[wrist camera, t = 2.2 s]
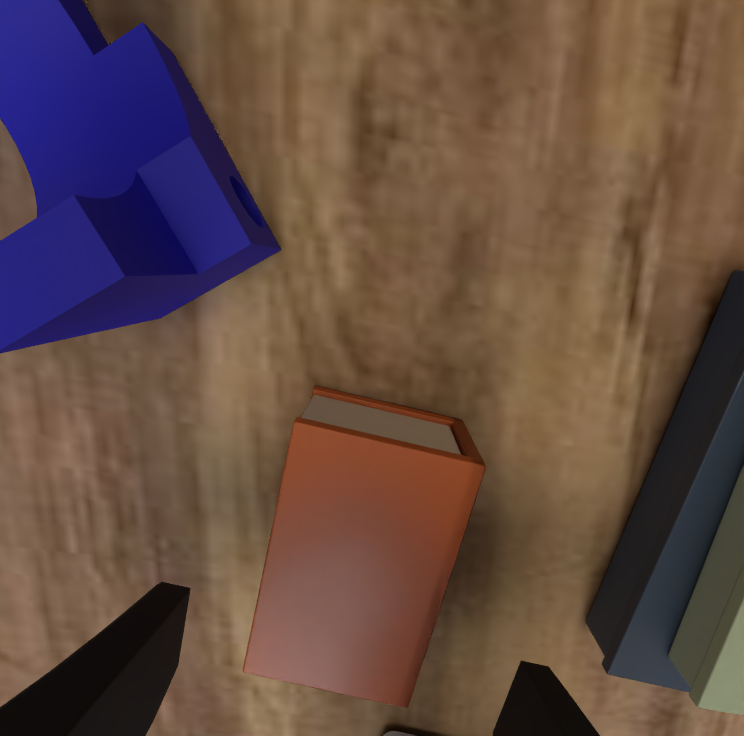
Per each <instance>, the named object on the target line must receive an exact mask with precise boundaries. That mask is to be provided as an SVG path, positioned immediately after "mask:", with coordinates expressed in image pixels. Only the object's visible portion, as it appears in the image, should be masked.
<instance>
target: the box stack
mask: <svg viewBox="0 0 744 736" xmlns="http://www.w3.org/2000/svg"><path fill="white" fill-rule="evenodd" d="M586 624H587V626H588V628H589V629H590V631H591V633H592V635H593V636H594V638H595V640H596V642H597V643H598V645H599V647H600V649H601V650H602V652H603V654H604V656H605V657H604V659H603V661H602V666H603V668H604V669H605V671H606V673H607V674H609V675H613V676H618V677H622V678H627V679H631V680H636V681H640V682H645V683H649V684H654V685H659V686H663V687H668V688H672V689H677V690H681V691H686V692H690V693H689V696H690V698H691V699H692V700H693V702H694V703H695V705H696V706H697V707H698V708H703V709H709V710H715V711H721V712H728V713H734V714H740V715H744V271H734V272H733V274H732V276H731V279H730V281H729V284H728V286H727V288H726V291H725V293H724V295H723V298H722V300H721V303H720V305H719V307H718V310H717V312H716V314H715V317H714V319H713V322H712V324H711V326H710V329H709V331H708V333H707V336H706V338H705V341H704V343H703V345H702V348H701V350H700V352H699V355H698V357H697V359H696V362H695V364H694V367H693V369H692V371H691V374H690V376H689V378H688V381H687V383H686V386H685V388H684V390H683V393H682V395H681V397H680V400H679V402H678V405H677V407H676V409H675V412H674V414H673V416H672V419H671V421H670V423H669V426H668V428H667V431H666V433H665V435H664V438H663V440H662V442H661V445H660V447H659V450H658V452H657V454H656V457H655V459H654V461H653V464H652V466H651V469H650V471H649V473H648V476H647V478H646V480H645V483H644V485H643V487H642V490H641V492H640V495H639V497H638V499H637V502H636V504H635V506H634V509H633V511H632V514H631V516H630V518H629V521H628V523H627V525H626V528H625V530H624V533H623V535H622V537H621V540H620V542H619V544H618V547H617V549H616V552H615V554H614V556H613V559H612V561H611V563H610V566H609V568H608V570H607V573H606V575H605V578H604V580H603V582H602V585H601V587H600V589H599V592H598V594H597V597H596V599H595V601H594V604H593V606H592V608H591V611H590V613H589V616H588V618H587V620H586Z"/></svg>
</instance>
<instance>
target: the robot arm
mask: <svg viewBox="0 0 744 736" xmlns="http://www.w3.org/2000/svg"><path fill="white" fill-rule="evenodd" d="M189 595H190V588H188V587H183V586H179V585H174V584H169V583H165V582H161V583H159V584H157V585H156V586H155V587H154V588H152V589H151V590H150V591H149V592H148V593H147V594H145V595H144V596H143V597H142V598H141V599H140V600H138V601H137V602H136V603H135V604H134V605H132V606H131V607H130V608H129V609H128V610H127V611H125V612H124V613H123V614H122V615H121V616H119V617H118V618H117V619H116V620H114V621H113V622H112V623H111V624H110V625H108V626H107V627H106V628H105V629H103V630H102V631H101V632H100V633H98V634H97V635H96V636H95V637H93V638H92V639H91V640H90V641H88V642H87V643H86V644H84V645H83V646H82V647H81V648H79V649H78V650H77V651H76V652H74V653H73V654H72V655H70V656H69V657H68V658H67V659H65V660H64V661H63V662H61V663H60V664H59V665H58V666H56V667H55V668H54V669H52V670H51V671H50V672H48V673H47V674H46V675H44V676H43V677H41V678H40V679H39V680H37V681H36V682H35V683H33V684H32V685H30V686H29V687H28V688H26V689H25V690H24V691H22V692H21V693H19V694H18V695H17V696H15V697H14V698H12V699H11V700H10V701H8V702H7V703H6V704H4V705H3V706H1V707H0V736H145V735H146V734H147V732H148V730H149V728H150V726H151V724H152V722H153V720H154V718H155V716H156V714H157V711H158V709H159V707H160V705H161V703H162V701H163V698H164V696H165V694H166V692H167V689H168V687H169V685H170V683H171V680H172V678H173V676H174V674H175V671H176V669H177V667H178V663H179V657H180V651H181V644H182V638H183V632H184V626H185V620H186V613H187V607H188V601H189ZM383 736H417V735H412V734H407V733H403V732H398V731H390V732H387V733H386V734H384V735H383ZM493 736H600V735H599V734H598V732H597V731H596V730H595V728H594V727H593V726H592V724H591V723H590V722H589V720H588V719H587V718H586V716H585V715H584V713H583V712H582V711H581V709H580V708H579V707H578V705H577V704H576V703H575V701H574V700H573V698H572V697H571V696H570V694H569V693H568V692H567V690H566V689H565V688H564V686H563V685H562V684H561V682H560V681H559V680H558V678H557V677H556V676H555V674H554V673H553V672H552V671H551V669H550V668H549V667H548V666H543V665H539V664H534V663H530V662H525V661H521V662H520V664H519V667H518V670H517V672H516V675H515V677H514V680H513V682H512V685H511V687H510V690H509V692H508V695H507V698H506V700H505V703H504V705H503V708H502V710H501V713H500V715H499V718H498V721H497V723H496V726H495V728H494V731H493Z"/></svg>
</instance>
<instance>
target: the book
mask: <svg viewBox="0 0 744 736" xmlns="http://www.w3.org/2000/svg"><path fill="white" fill-rule="evenodd" d="M485 469H486V465H485V463H484V461H483V459H482V457H481V455H480V453H479V451H478V449H477V448H476V446H475V444H474V442H473V440H472V438H471V436H470V434H469V432H468V430H467V428H466V426H465V424H464V422H463V421H462V420H459V419H455V418H450V417H446V416H442V415H438V414H433V413H429V412H425V411H421V410H416V409H412V408H408V407H404V406H399V405H395V404H391V403H387V402H382V401H378V400H374V399H369V398H365V397H361V396H357V395H352V394H348V393H344V392H340V391H335V390H331V389H327V388H323V387H318V386H315V387H314V389H313V393H312V397H311V401H310V403H309V404H308V406H307V408H306V410H305V412H304V413H303V415H302V417H297V418H296V419H295V421H294V424H293V429H292V433H291V438H290V443H289V448H288V453H287V458H286V463H285V467H284V472H283V477H282V482H281V487H280V492H279V497H278V501H277V506H276V511H275V516H274V521H273V526H272V531H271V535H270V540H269V545H268V550H267V555H266V560H265V565H264V570H263V574H262V579H261V584H260V589H259V594H258V599H257V604H256V608H255V613H254V618H253V623H252V628H251V633H250V638H249V642H248V647H247V652H246V657H245V662H244V667H243V672H244V673H249V674H253V675H258V676H262V677H267V678H272V679H276V680H281V681H285V682H290V683H295V684H299V685H304V686H309V687H313V688H318V689H322V690H327V691H332V692H336V693H341V694H345V695H350V696H355V697H359V698H364V699H369V700H373V701H378V702H382V703H387V704H392V705H396V706H401V707H405V708H408V706H409V703H410V700H411V697H412V694H413V691H414V688H415V685H416V681H417V678H418V675H419V672H420V669H421V666H422V663H423V660H424V657H425V654H426V651H427V648H428V644H429V641H430V638H431V635H432V632H433V629H434V626H435V623H436V620H437V617H438V614H439V611H440V608H441V604H442V601H443V598H444V595H445V592H446V589H447V586H448V583H449V580H450V577H451V574H452V571H453V567H454V564H455V561H456V558H457V555H458V552H459V549H460V546H461V543H462V540H463V537H464V534H465V530H466V527H467V524H468V521H469V518H470V515H471V512H472V509H473V506H474V503H475V500H476V497H477V494H478V490H479V487H480V484H481V481H482V478H483V475H484V472H485Z"/></svg>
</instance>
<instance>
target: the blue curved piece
mask: <svg viewBox="0 0 744 736" xmlns="http://www.w3.org/2000/svg"><path fill="white" fill-rule="evenodd" d="M0 118H1V120H2V122H3V123H4V125H5V126H6V128H7V129H8V131H9V133H10V135H11V136H12V138H13V140H14V142H15V143H16V145H17V147H18V149H19V151H20V153H21V156H22V158H23V160H24V162H25V164H26V167H27V169H28V172H29V174H30V177H31V180H32V184H33V187H34V191H35V196H36V203H37V218H36V219H34V220H33V221H31V222H30V223H28V224H26V225H25V226H23V227H22V228H20V229H19V230H17V231H15V232H14V233H12V234H11V235H9V236H7V237H6V238H4V239H3V240H1V241H0V353H3V352H8V351H13V350H17V349H22V348H26V347H31V346H35V345H40V344H45V343H49V342H54V341H58V340H63V339H67V338H72V337H77V336H81V335H86V334H90V333H95V332H99V331H104V330H109V329H113V328H118V327H122V326H127V325H131V324H136V323H141V322H145V321H150V320H154V319H159V318H162V317H163V316H165V315H167V314H169V313H170V312H172V311H174V310H176V309H177V308H179V307H181V306H183V305H185V304H186V303H188V302H190V301H192V300H193V299H195V298H197V297H199V296H200V295H202V294H204V293H206V292H207V291H209V290H211V289H213V288H215V287H216V286H218V285H220V284H222V283H223V282H225V281H227V280H229V279H230V278H232V277H234V276H236V275H238V274H239V273H241V272H243V271H245V270H246V269H248V268H250V267H252V266H253V265H255V264H257V263H259V262H260V261H262V260H264V259H266V258H268V257H269V256H271V255H273V254H275V253H276V252H278V251H280V250H281V248H280V246H279V245H278V243H277V241H276V239H275V237H274V236H273V234H272V232H271V230H270V228H269V226H268V225H267V223H266V221H265V219H264V217H263V216H262V214H261V212H260V210H259V208H258V207H257V205H256V203H255V201H254V199H253V197H252V196H251V194H250V192H249V190H248V188H247V187H246V185H245V183H244V181H243V179H242V178H241V176H240V174H239V172H238V170H237V169H236V167H235V165H234V163H233V161H232V159H231V158H230V156H229V154H228V152H227V150H226V149H225V147H224V145H223V143H222V141H221V140H220V138H219V136H218V134H217V132H216V131H215V129H214V127H213V125H212V123H211V121H210V120H209V118H208V116H207V114H206V112H205V111H204V109H203V107H202V105H201V103H200V102H199V100H198V98H197V96H196V94H195V92H194V91H193V89H192V87H191V85H190V83H189V82H188V80H187V78H186V76H185V74H184V73H183V71H182V69H181V67H180V65H179V64H178V62H177V60H176V58H175V56H174V54H173V53H172V52H171V51H170V50H169V49H168V47H167V46H166V45H165V44H164V43H163V42H162V41H161V40H160V39H159V38H158V37H157V36H156V35H155V34H154V33H153V32H152V31H151V30H150V29H149V28H148V27H147V26H146V25H145V24H144V23H143V22H142V23H141V24H139V25H138V26H136V27H135V28H134V29H132V30H131V31H129V32H128V33H126V34H125V35H123V36H122V37H120V38H119V39H117V40H116V41H114V42H113V43H112V44H110V45H109V46H108V44H107V43H106V41H105V39H104V38H103V36H102V34H101V32H100V31H99V29H98V27H97V25H96V24H95V22H94V20H93V19H92V17H91V15H90V13H89V12H88V10H87V8H86V6H85V5H84V3H83V1H82V0H0Z"/></svg>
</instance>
